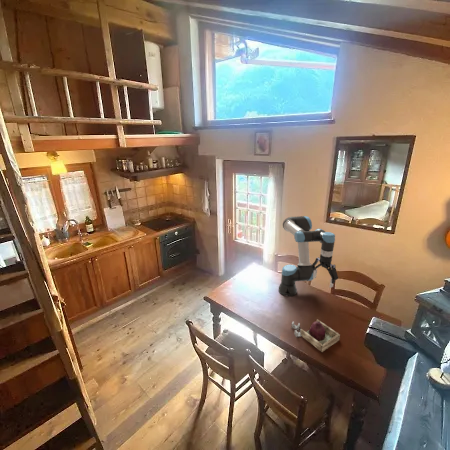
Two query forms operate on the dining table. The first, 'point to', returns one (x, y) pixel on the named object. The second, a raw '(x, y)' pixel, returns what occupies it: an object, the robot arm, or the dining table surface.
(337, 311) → the dining table surface
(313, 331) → the vegetable
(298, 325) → the clip
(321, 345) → the tray
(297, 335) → the clip
